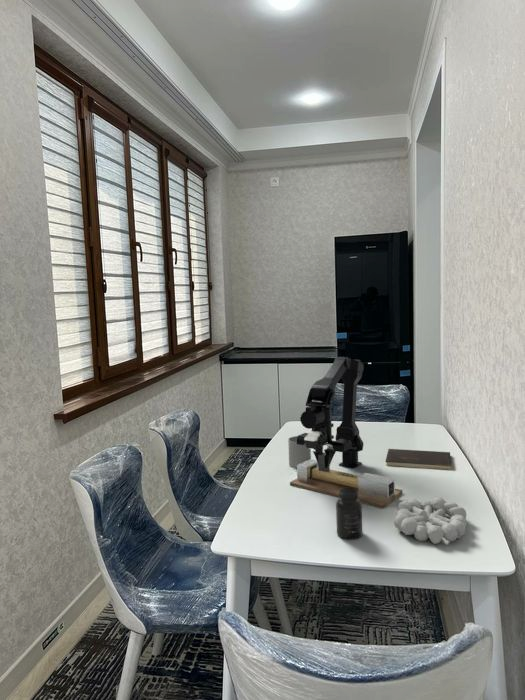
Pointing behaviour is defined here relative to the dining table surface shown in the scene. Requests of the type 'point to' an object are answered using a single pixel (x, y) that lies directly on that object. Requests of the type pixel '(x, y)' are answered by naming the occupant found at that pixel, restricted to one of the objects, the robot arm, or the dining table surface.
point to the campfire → (431, 519)
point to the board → (334, 488)
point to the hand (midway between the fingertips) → (323, 466)
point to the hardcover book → (418, 459)
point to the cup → (297, 453)
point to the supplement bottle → (349, 514)
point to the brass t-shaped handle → (332, 473)
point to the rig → (366, 482)
